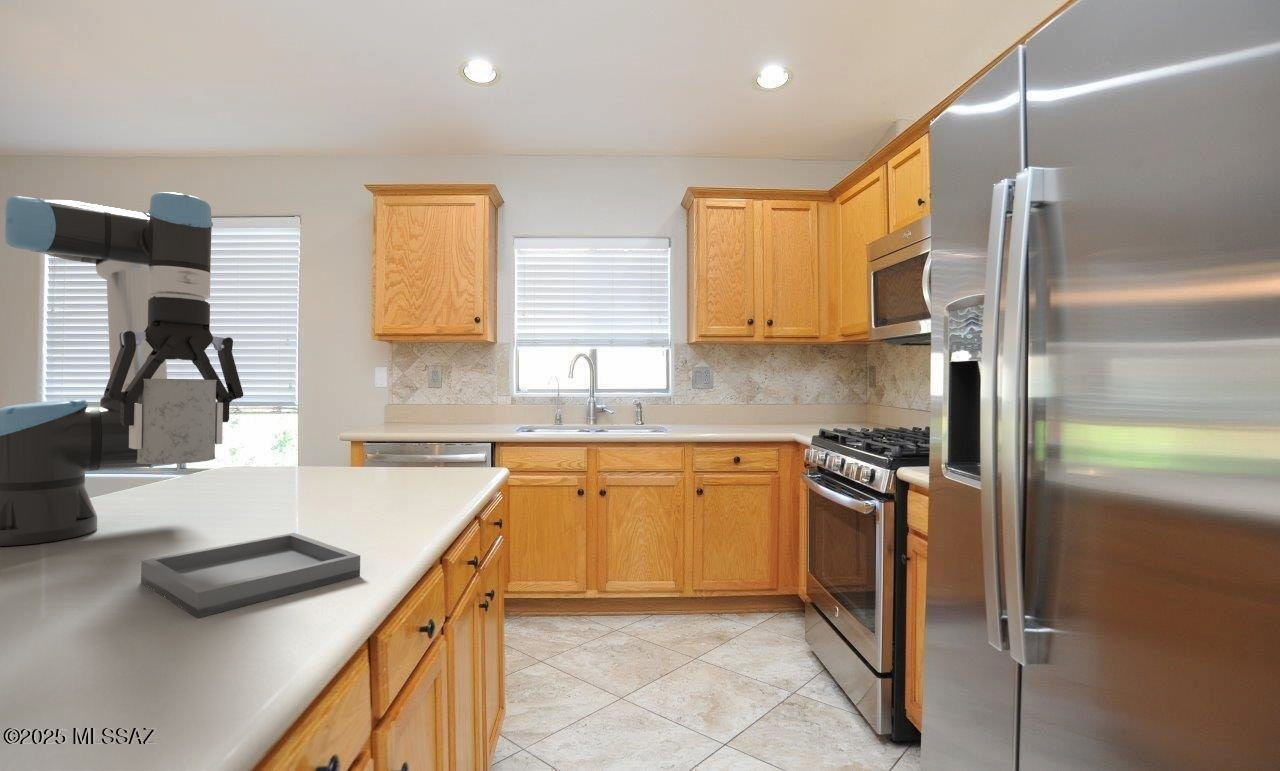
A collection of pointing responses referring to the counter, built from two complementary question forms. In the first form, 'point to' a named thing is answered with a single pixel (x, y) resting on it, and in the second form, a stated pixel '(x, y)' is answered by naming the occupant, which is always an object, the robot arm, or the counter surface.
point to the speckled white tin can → (177, 421)
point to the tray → (247, 572)
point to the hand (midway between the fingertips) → (177, 445)
